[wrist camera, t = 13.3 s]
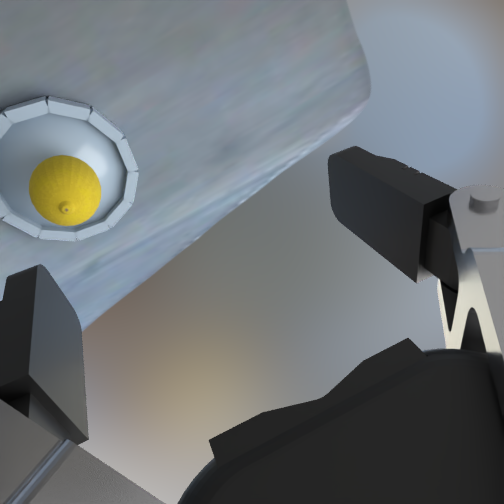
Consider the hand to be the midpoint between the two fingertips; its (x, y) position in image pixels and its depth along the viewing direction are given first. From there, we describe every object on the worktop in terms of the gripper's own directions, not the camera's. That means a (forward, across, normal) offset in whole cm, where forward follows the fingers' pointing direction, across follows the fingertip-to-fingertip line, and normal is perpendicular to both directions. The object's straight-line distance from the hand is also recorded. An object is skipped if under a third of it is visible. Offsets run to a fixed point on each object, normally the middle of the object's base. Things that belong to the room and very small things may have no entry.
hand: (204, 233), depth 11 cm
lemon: (+29, +7, +7) cm, 31 cm away
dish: (+30, +7, +7) cm, 32 cm away
